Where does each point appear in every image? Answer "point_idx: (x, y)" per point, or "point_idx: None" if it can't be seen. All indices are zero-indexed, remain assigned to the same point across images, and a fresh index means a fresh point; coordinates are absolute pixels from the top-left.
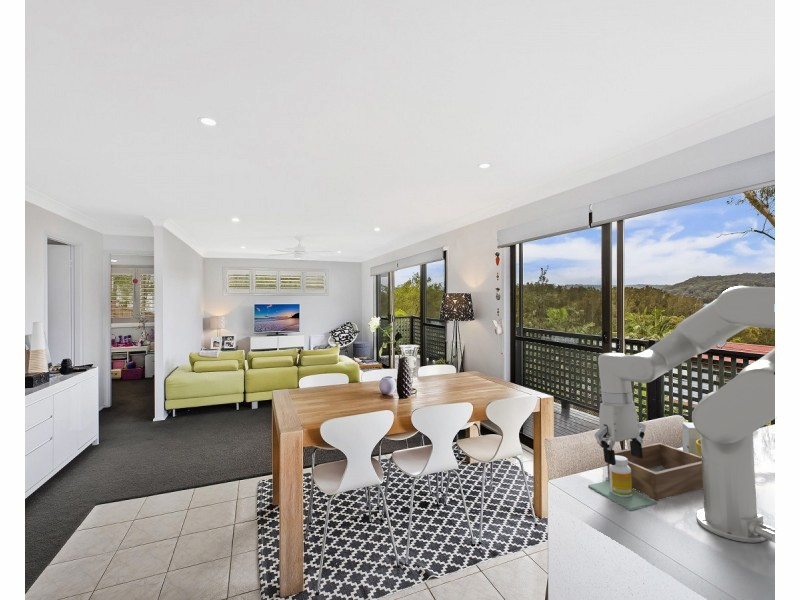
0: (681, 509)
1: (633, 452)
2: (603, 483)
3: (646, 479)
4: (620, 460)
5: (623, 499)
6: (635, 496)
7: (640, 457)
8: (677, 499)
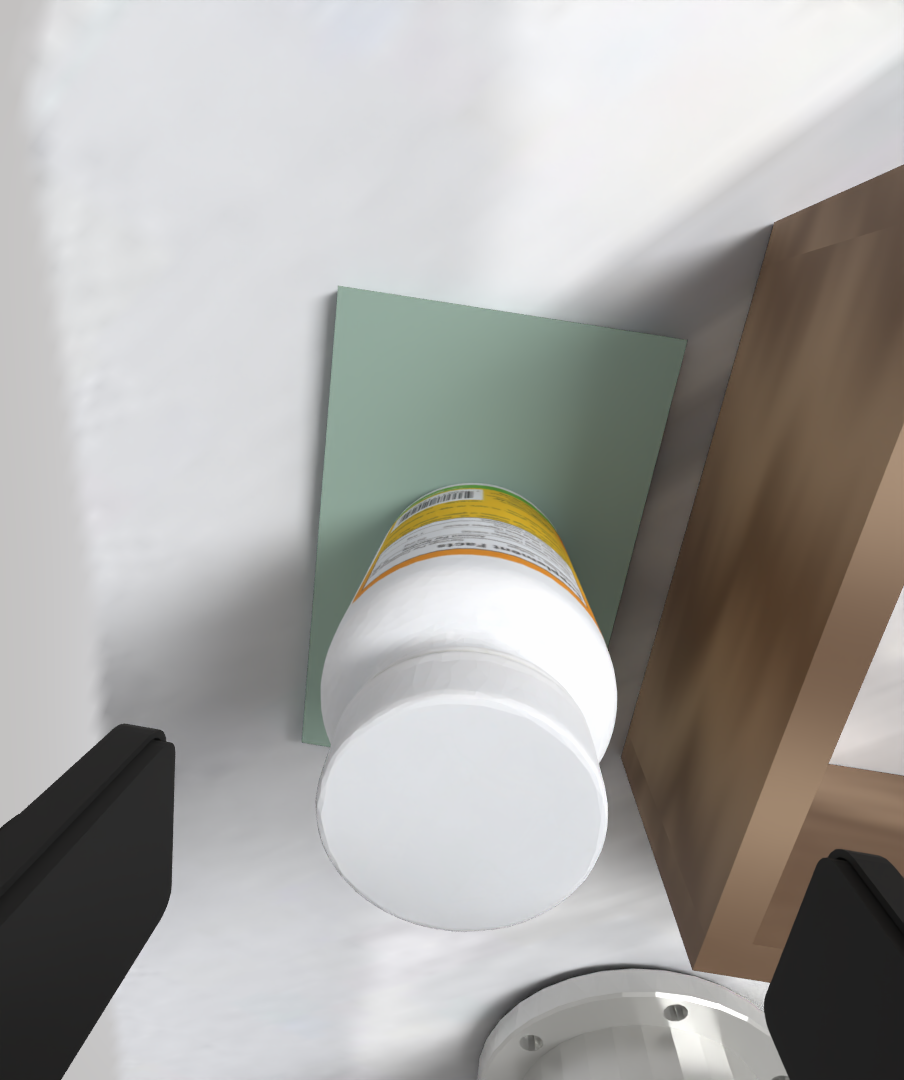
0: (626, 886)
1: (847, 964)
2: (514, 351)
3: (688, 781)
4: (364, 889)
5: None
6: None
7: (770, 1024)
8: None
